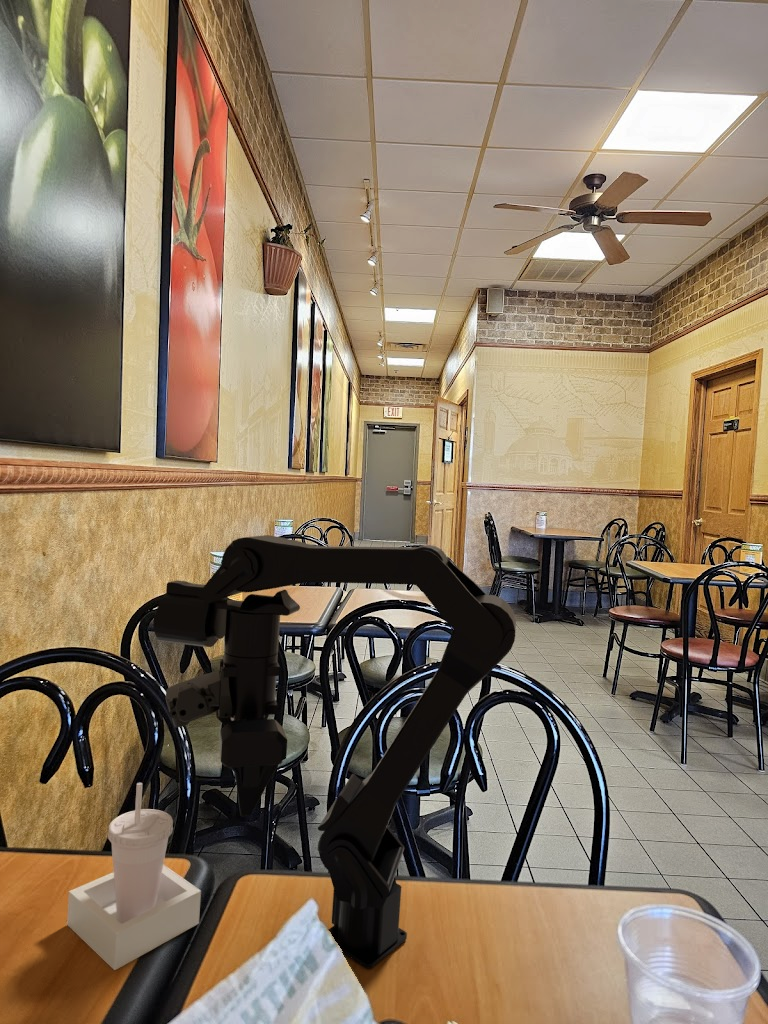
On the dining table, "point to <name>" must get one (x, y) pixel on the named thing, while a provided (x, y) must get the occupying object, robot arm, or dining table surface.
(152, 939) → the box
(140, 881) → the smoothie
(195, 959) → the dining table surface
